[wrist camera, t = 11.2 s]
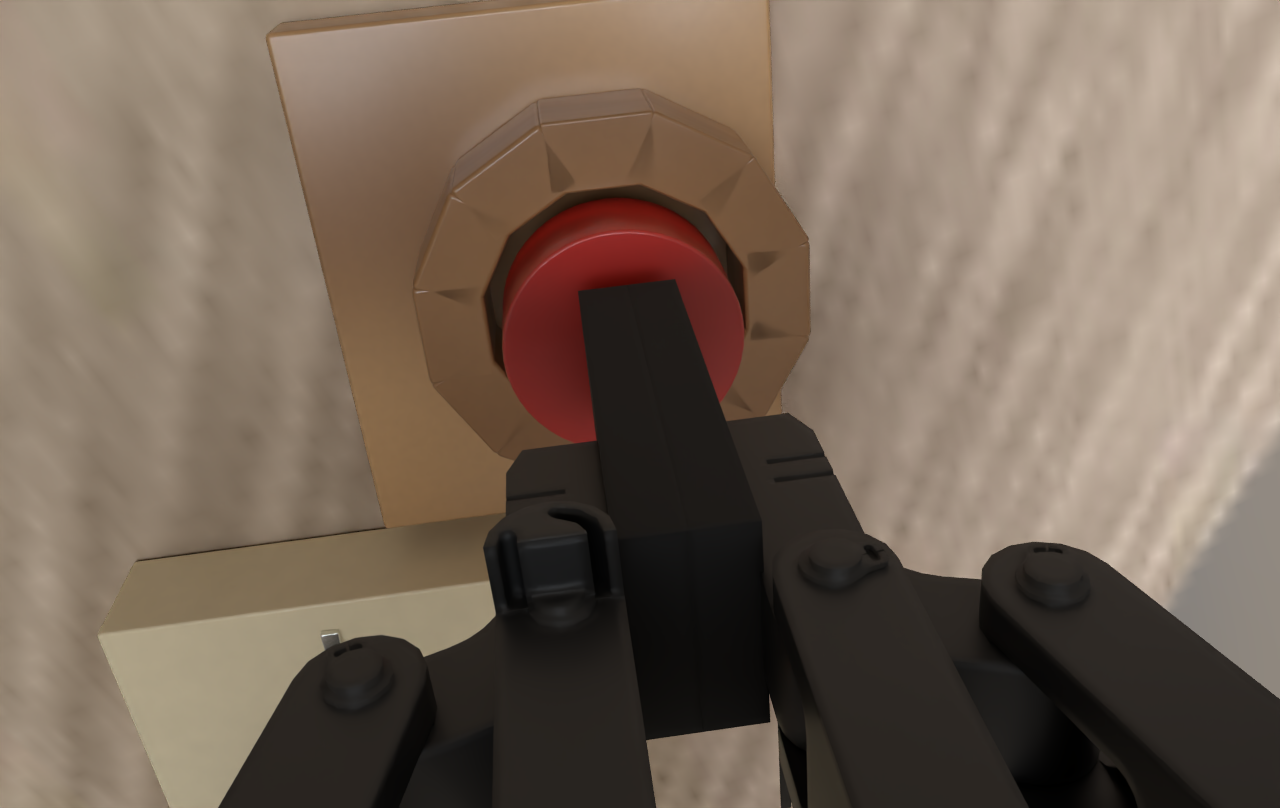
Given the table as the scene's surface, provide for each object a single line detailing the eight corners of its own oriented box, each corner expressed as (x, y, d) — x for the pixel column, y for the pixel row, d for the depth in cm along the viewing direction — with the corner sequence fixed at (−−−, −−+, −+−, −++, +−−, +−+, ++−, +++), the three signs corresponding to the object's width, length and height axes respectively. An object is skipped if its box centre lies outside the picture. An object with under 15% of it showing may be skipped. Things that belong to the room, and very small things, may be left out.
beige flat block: (608, 840, 29) (616, 927, 27) (248, 894, 29) (225, 988, 26) (557, 504, 24) (562, 576, 22) (118, 563, 24) (74, 643, 21)
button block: (781, 447, 24) (814, 523, 21) (390, 499, 24) (375, 583, 21) (766, -31, 19) (806, -10, 17) (277, 22, 19) (239, 53, 16)
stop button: (731, 390, 20) (749, 436, 19) (519, 417, 20) (520, 466, 19) (720, 183, 18) (739, 215, 17) (486, 211, 18) (484, 246, 17)
